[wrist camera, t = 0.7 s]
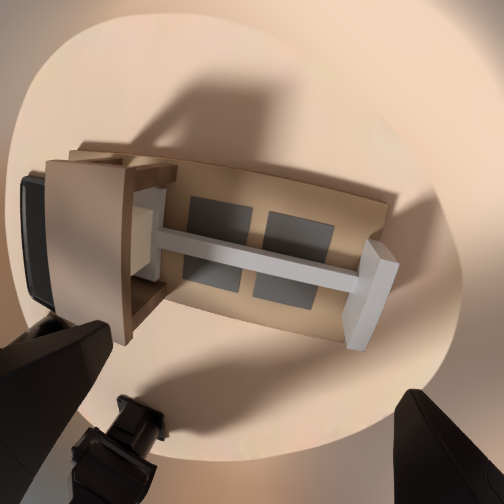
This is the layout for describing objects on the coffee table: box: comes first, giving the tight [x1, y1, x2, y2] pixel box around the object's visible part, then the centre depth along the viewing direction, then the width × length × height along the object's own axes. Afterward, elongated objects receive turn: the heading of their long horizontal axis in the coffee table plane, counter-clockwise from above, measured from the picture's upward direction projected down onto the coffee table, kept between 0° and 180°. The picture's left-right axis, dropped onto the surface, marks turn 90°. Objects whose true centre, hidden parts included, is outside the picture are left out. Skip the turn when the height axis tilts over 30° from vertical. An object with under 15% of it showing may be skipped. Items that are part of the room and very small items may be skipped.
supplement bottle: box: [6, 316, 68, 347], centre depth 24 cm, size 7×7×12 cm
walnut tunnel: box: [45, 157, 178, 346], centre depth 18 cm, size 11×6×7 cm, turn 170°
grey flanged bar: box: [133, 186, 400, 352], centre depth 18 cm, size 7×20×4 cm, turn 80°
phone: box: [20, 176, 56, 313], centre depth 25 cm, size 8×1×15 cm
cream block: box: [131, 206, 153, 276], centre depth 18 cm, size 4×4×4 cm
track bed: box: [69, 150, 389, 343], centre depth 21 cm, size 11×26×1 cm, turn 80°
